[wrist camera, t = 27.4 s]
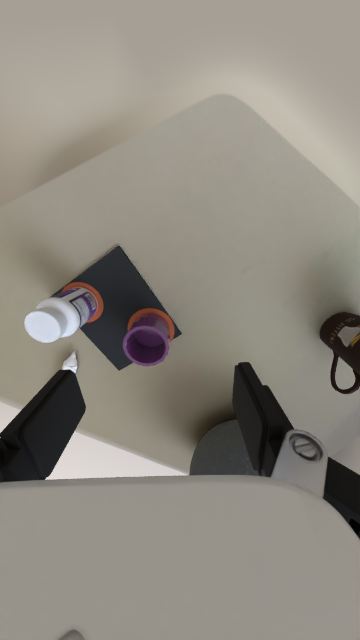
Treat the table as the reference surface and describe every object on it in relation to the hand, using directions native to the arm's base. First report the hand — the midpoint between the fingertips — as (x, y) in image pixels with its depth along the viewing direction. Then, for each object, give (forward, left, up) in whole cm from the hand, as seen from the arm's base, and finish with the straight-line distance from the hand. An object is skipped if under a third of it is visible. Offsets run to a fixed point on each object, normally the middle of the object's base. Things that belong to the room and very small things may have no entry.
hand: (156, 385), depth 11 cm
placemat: (-2, -9, -21) cm, 23 cm away
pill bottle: (-7, -13, -21) cm, 25 cm away
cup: (+3, -6, -21) cm, 22 cm away
